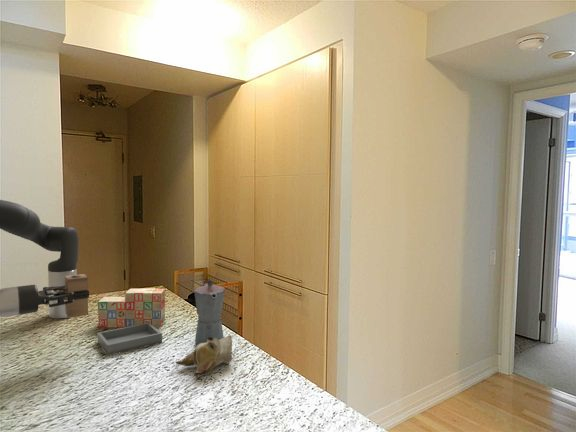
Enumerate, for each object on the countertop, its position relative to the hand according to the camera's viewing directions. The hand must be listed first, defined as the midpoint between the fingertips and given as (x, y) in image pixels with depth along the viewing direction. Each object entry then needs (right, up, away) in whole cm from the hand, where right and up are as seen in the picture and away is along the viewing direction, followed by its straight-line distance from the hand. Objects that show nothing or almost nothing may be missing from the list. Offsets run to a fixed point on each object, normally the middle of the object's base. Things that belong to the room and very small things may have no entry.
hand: (86, 291), depth 114 cm
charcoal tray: (+10, -17, +8) cm, 21 cm away
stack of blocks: (+4, -17, +24) cm, 30 cm away
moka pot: (+34, -18, +9) cm, 40 cm away
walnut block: (-2, -6, -1) cm, 7 cm away
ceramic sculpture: (+38, -19, -8) cm, 43 cm away
